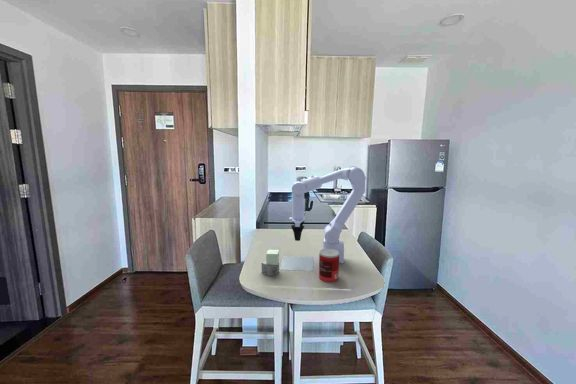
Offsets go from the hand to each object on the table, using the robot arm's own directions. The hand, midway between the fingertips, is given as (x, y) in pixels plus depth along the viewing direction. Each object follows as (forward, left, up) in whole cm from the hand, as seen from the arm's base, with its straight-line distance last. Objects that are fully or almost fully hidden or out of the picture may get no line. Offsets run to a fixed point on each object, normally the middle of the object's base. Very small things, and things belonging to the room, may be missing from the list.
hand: (297, 237), depth 124 cm
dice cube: (+10, +16, -11) cm, 22 cm away
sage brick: (+9, +16, -5) cm, 19 cm away
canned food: (-13, +18, -10) cm, 24 cm away
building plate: (0, +6, -10) cm, 12 cm away
